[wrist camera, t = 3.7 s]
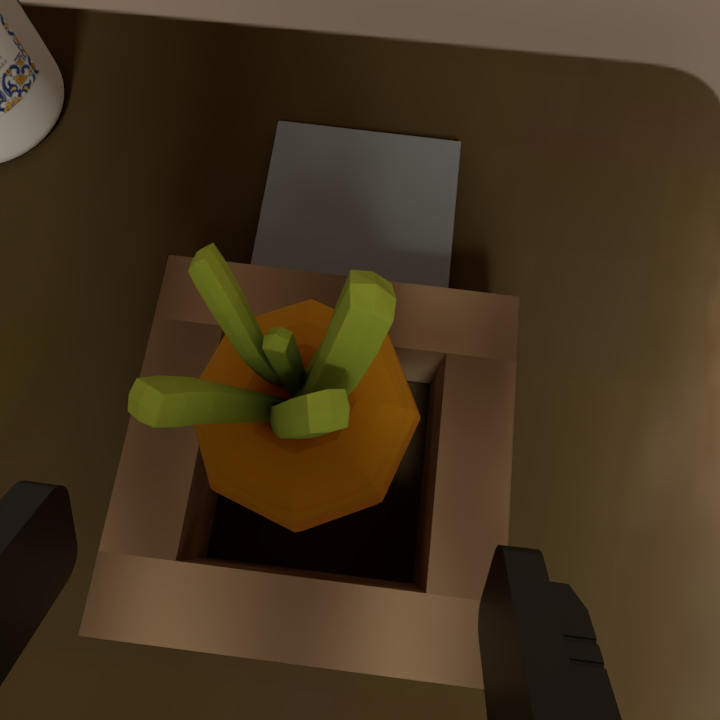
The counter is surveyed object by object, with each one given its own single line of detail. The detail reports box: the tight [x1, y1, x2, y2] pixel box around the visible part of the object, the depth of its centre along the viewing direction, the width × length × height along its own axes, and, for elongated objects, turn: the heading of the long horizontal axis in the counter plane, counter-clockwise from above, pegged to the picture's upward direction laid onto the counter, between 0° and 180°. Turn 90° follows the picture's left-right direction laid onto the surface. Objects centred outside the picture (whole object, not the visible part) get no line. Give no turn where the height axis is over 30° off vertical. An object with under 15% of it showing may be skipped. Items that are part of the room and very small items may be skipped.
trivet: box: [251, 121, 461, 288], centre depth 25 cm, size 8×8×1 cm
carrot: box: [128, 243, 420, 532], centre depth 15 cm, size 5×5×15 cm
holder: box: [78, 255, 520, 689], centre depth 20 cm, size 12×12×4 cm
